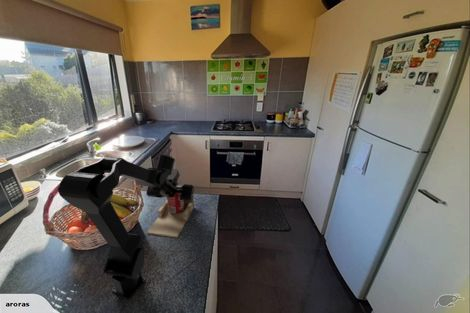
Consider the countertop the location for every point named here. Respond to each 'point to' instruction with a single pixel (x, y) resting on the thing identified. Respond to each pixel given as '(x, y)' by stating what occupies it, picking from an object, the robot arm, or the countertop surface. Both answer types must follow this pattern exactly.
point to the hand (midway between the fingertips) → (177, 195)
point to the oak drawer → (171, 220)
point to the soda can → (175, 203)
